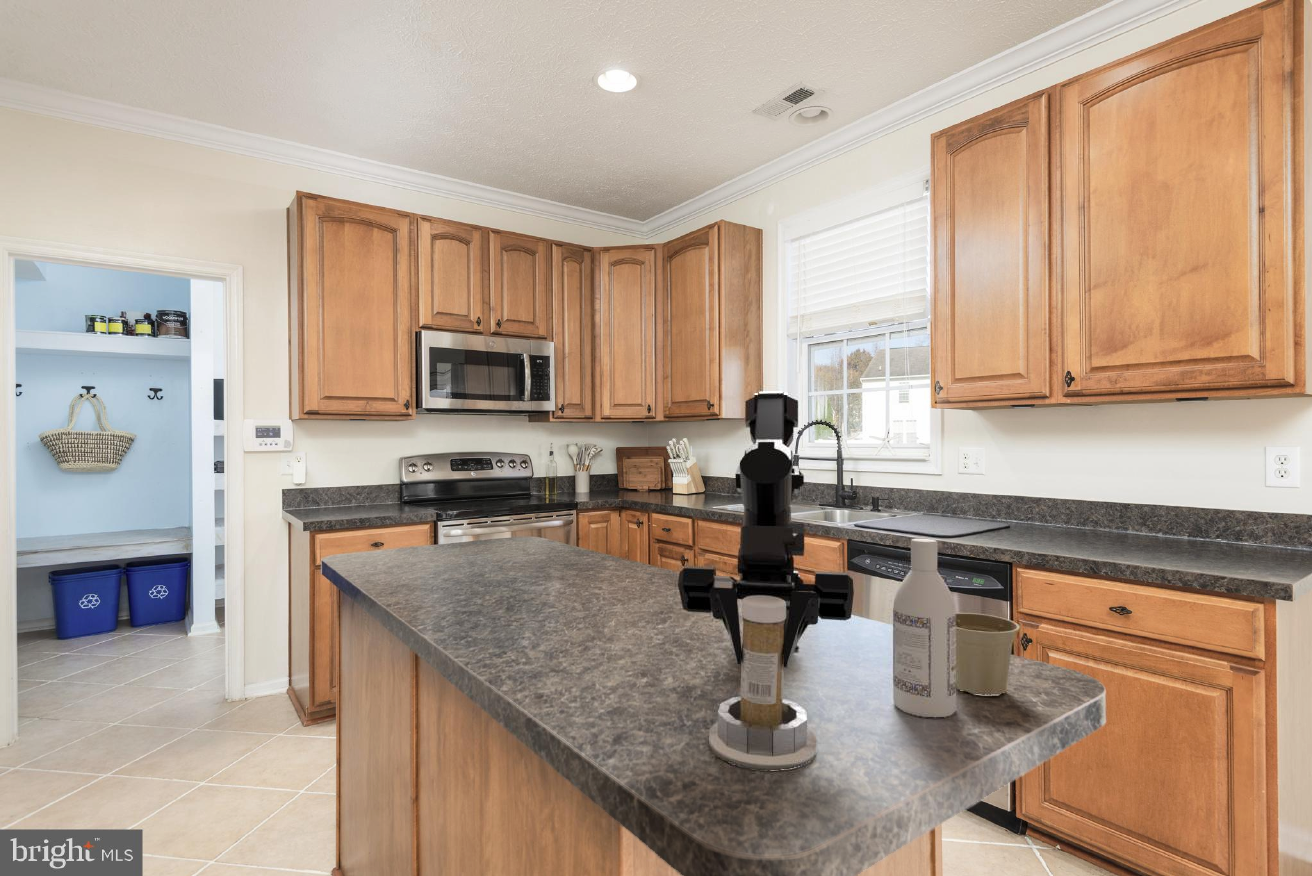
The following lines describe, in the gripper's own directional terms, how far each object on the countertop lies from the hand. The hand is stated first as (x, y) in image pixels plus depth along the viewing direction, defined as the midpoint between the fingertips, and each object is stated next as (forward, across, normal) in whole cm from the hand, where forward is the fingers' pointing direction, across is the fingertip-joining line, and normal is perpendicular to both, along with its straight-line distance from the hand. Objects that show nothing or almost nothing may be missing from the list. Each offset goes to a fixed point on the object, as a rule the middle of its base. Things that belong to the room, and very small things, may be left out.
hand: (761, 664), depth 68 cm
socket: (+5, 0, +7) cm, 9 cm away
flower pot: (-10, +26, +23) cm, 36 cm away
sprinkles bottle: (+4, 0, +6) cm, 7 cm away
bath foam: (-4, +18, +17) cm, 26 cm away
